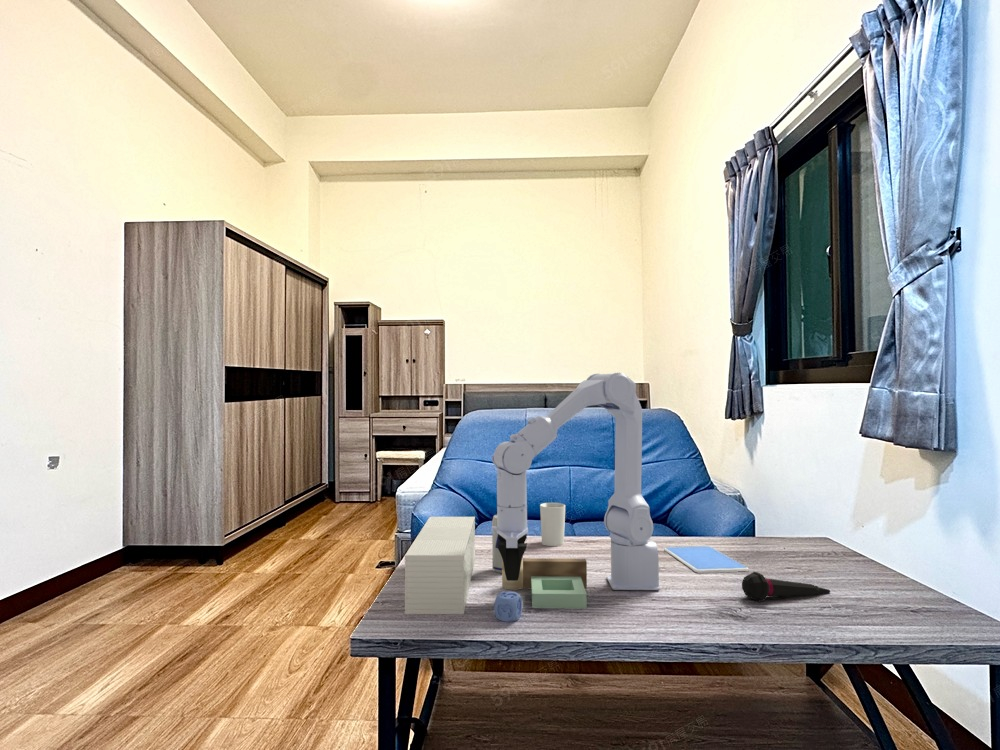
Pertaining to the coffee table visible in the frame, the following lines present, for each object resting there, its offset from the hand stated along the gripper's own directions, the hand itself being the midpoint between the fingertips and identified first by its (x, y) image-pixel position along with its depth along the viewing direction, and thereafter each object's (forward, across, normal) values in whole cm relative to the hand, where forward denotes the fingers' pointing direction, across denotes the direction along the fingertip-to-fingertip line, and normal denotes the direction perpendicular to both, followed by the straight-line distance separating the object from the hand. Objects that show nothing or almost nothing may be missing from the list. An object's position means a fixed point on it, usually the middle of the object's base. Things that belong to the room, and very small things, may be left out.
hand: (512, 576), depth 111 cm
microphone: (+5, -3, +53) cm, 54 cm away
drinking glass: (+5, -42, +10) cm, 43 cm away
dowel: (+2, 0, 0) cm, 2 cm away
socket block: (+5, -2, +9) cm, 10 cm away
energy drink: (+5, -19, -2) cm, 20 cm away
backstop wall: (+5, -8, +7) cm, 12 cm away
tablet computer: (+6, -28, +45) cm, 53 cm away
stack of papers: (+5, -9, -14) cm, 18 cm away
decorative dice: (+5, +8, -1) cm, 9 cm away
